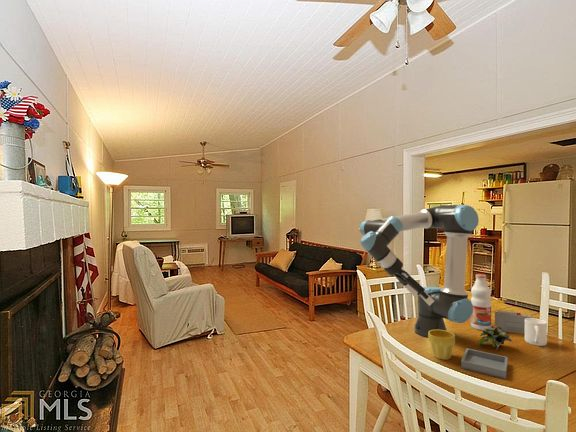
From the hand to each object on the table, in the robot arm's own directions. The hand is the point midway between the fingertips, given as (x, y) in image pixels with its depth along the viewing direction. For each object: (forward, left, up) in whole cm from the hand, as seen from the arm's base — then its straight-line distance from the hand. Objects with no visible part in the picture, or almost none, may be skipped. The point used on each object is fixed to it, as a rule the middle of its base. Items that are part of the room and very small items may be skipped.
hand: (424, 299), depth 139 cm
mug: (+39, +43, -25) cm, 63 cm away
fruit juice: (+16, +53, -25) cm, 61 cm away
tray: (+22, +4, -24) cm, 33 cm away
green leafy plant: (+24, +28, -25) cm, 45 cm away
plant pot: (+6, +4, -25) cm, 26 cm away
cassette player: (+30, +56, -25) cm, 68 cm away
